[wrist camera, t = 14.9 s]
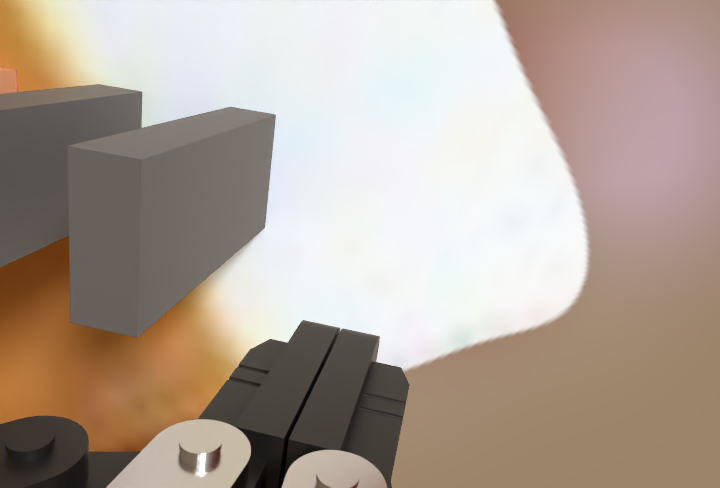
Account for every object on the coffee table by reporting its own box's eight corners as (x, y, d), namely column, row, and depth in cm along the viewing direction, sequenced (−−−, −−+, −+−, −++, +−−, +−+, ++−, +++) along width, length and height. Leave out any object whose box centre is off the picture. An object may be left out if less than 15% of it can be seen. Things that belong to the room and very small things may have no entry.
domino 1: (98, 194, 28) (-120, 280, 18) (99, 84, 26) (-142, 107, 16) (139, 202, 28) (-58, 294, 17) (141, 91, 26) (-74, 119, 16)
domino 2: (222, 219, 27) (70, 322, 17) (230, 106, 26) (67, 146, 15) (264, 227, 27) (137, 337, 17) (275, 114, 25) (141, 159, 15)
